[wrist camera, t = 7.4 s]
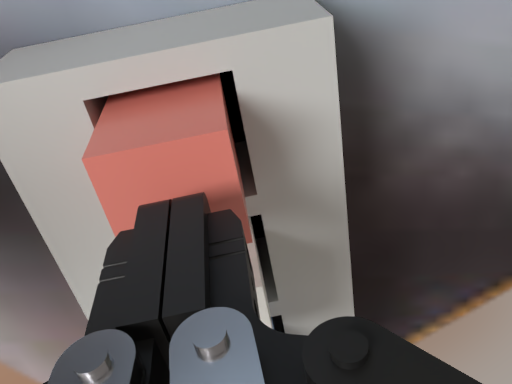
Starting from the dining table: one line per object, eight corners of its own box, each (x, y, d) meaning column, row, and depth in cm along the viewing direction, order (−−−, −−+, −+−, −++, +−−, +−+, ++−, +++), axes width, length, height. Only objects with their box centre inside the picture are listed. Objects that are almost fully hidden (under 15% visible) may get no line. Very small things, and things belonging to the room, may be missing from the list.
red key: (218, 69, 14) (227, 129, 10) (239, 163, 16) (252, 242, 12) (110, 91, 14) (81, 159, 10) (143, 183, 16) (128, 267, 12)
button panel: (302, -10, 16) (332, 15, 12) (336, 311, 24) (358, 377, 21) (12, 49, 15) (-38, 90, 12) (150, 349, 24) (143, 421, 21)
